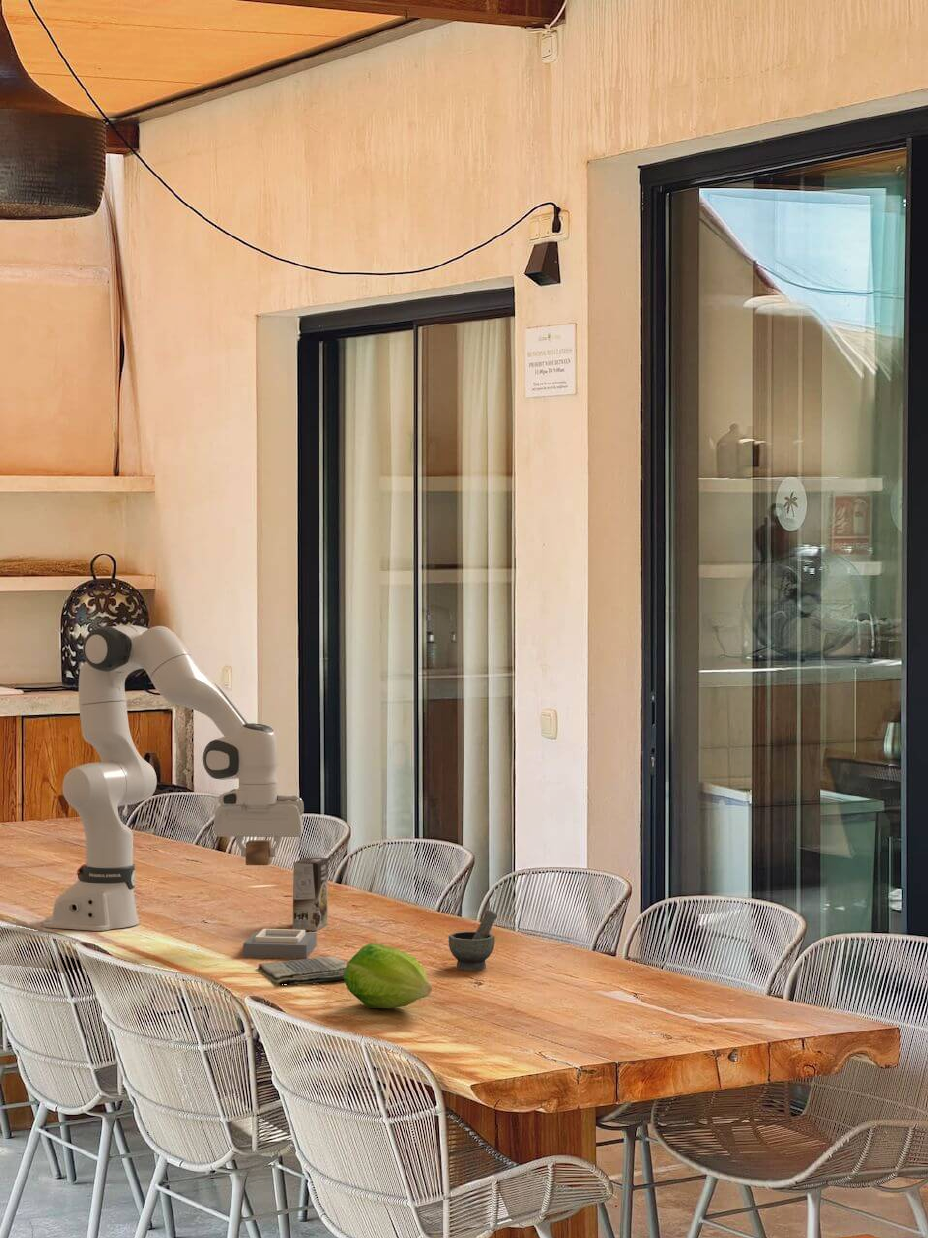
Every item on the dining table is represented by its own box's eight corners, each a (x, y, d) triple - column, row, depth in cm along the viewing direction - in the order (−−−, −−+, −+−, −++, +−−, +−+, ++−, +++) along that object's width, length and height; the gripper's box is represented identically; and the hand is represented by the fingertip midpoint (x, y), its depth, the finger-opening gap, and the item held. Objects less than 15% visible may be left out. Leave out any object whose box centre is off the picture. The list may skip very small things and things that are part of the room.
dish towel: (255, 971, 383) (255, 956, 383) (336, 966, 390) (336, 951, 390) (278, 990, 366) (278, 974, 366) (362, 984, 372) (362, 968, 372)
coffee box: (317, 931, 425) (318, 863, 425) (291, 930, 426) (292, 862, 426) (328, 924, 434) (329, 857, 434) (302, 923, 435) (303, 856, 435)
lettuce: (397, 1026, 335) (398, 962, 335) (331, 1006, 350) (331, 945, 350) (453, 1015, 344) (453, 952, 344) (386, 996, 359) (387, 936, 359)
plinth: (243, 957, 395) (243, 938, 395) (255, 944, 409) (255, 926, 409) (306, 958, 394) (306, 940, 394) (316, 946, 408) (316, 928, 408)
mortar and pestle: (464, 974, 380) (464, 917, 380) (440, 966, 388) (440, 910, 388) (507, 968, 386) (508, 912, 386) (483, 960, 394) (484, 906, 394)
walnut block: (245, 865, 407) (245, 843, 407) (249, 862, 412) (249, 840, 412) (267, 865, 406) (267, 843, 406) (271, 862, 411) (271, 840, 411)
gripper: (306, 794, 411) (306, 854, 411) (217, 794, 413) (217, 854, 413) (301, 797, 405) (301, 858, 405) (211, 797, 406) (211, 858, 407)
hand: (258, 856), depth 409 cm, fingers closed on walnut block, 5 cm apart
